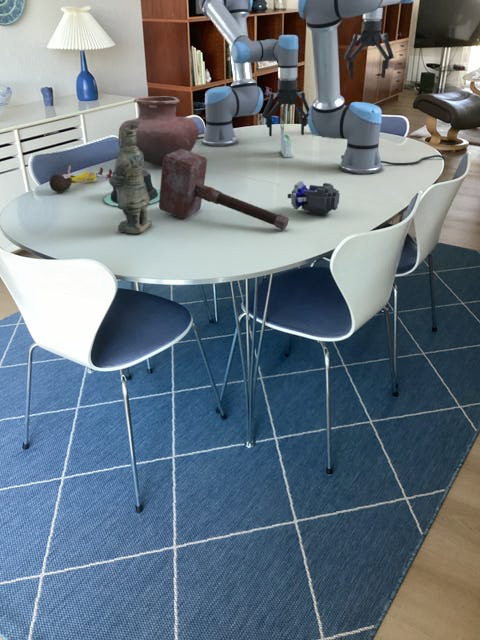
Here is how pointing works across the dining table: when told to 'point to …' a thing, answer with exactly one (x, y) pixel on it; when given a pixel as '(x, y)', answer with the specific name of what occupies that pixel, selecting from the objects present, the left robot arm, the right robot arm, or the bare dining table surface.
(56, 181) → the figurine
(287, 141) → the ink box
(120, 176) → the statue
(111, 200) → the chocolate cake
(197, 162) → the sledgehammer
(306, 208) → the toy
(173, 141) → the clay pot
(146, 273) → the dining table surface
